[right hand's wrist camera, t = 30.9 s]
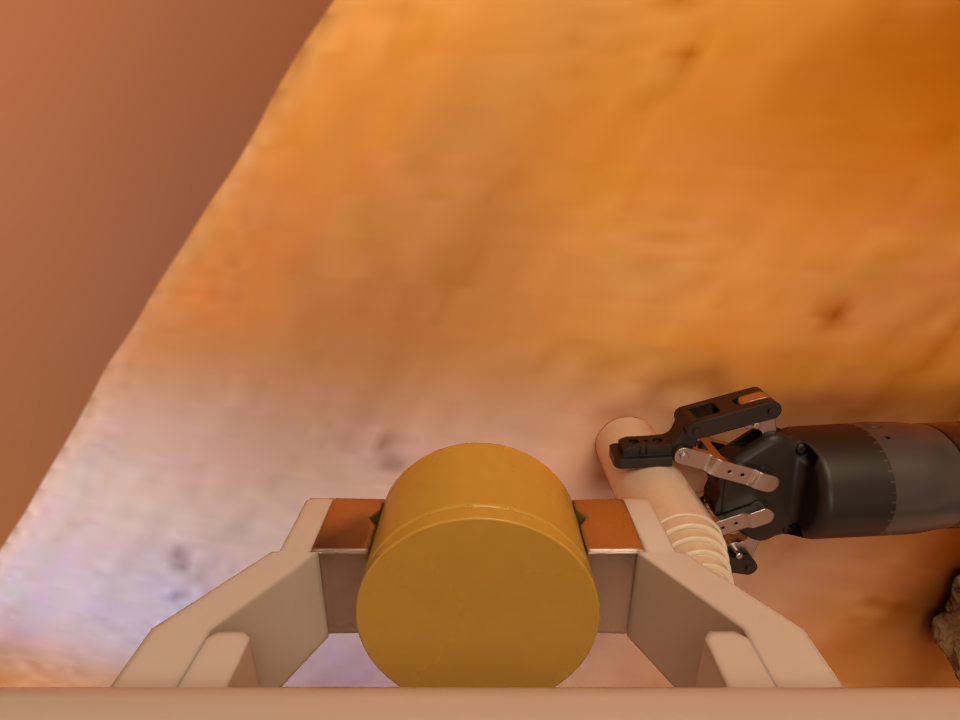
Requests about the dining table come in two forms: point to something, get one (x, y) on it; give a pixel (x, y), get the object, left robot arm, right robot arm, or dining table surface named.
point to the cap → (477, 575)
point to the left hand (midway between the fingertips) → (611, 490)
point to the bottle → (666, 499)
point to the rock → (949, 627)
